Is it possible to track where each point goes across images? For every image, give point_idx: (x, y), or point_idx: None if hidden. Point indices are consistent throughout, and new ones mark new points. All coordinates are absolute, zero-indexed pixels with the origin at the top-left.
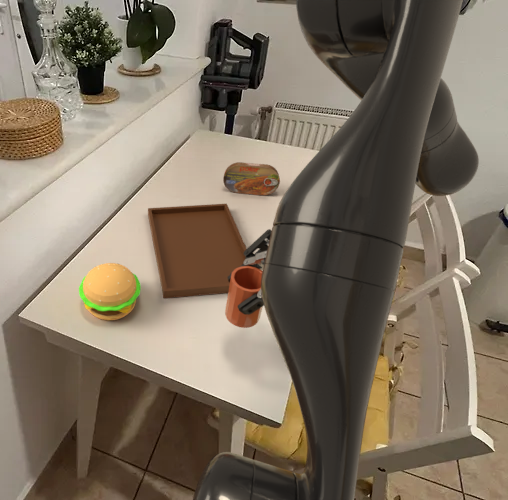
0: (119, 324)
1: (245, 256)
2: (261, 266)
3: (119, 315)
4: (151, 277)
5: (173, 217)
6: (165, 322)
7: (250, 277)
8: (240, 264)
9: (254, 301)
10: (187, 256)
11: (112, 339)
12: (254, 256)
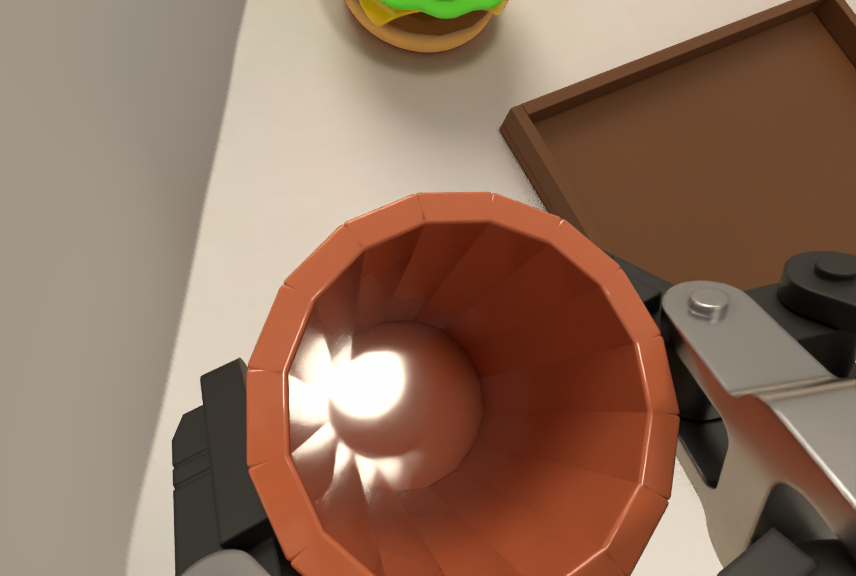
0: (347, 35)
1: (776, 284)
2: (722, 486)
3: (361, 12)
4: (566, 76)
5: (839, 74)
6: (405, 158)
7: (577, 392)
8: None
9: (208, 518)
10: (701, 154)
11: (283, 31)
12: (825, 370)
